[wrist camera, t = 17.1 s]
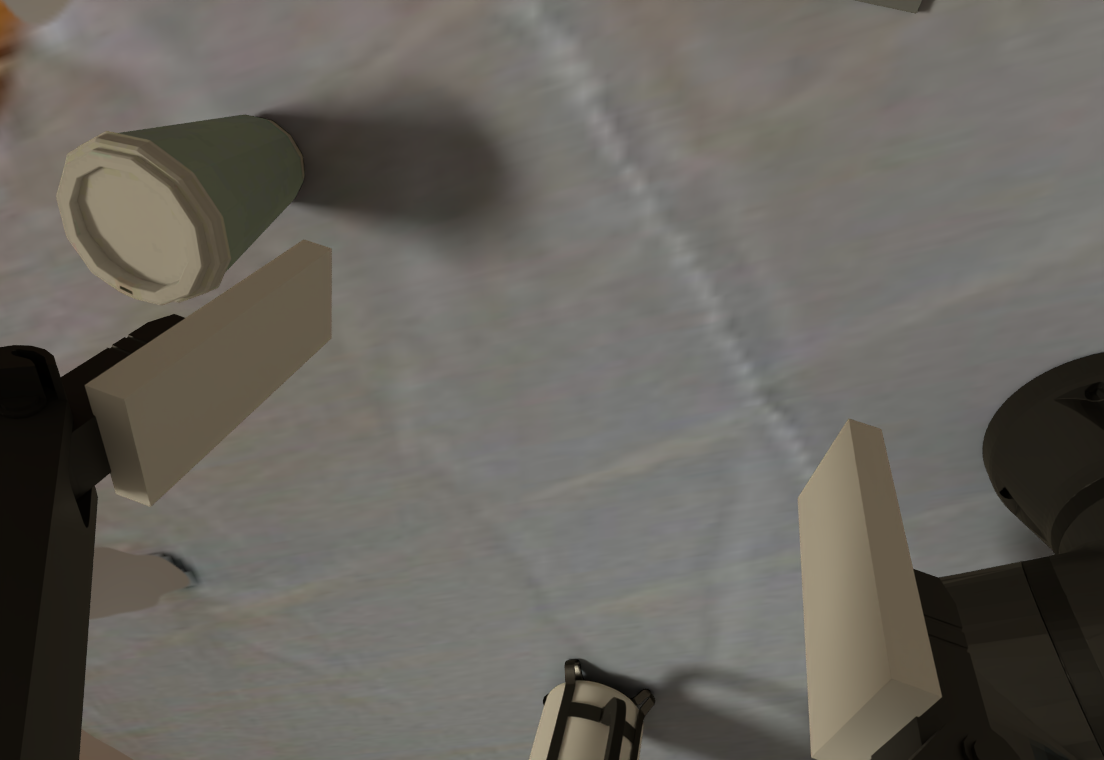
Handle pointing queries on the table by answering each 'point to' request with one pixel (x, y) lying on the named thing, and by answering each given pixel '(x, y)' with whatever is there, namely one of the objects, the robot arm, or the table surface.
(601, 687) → the coffee press
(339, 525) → the table surface
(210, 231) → the disposable coffee cup
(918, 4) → the mat
